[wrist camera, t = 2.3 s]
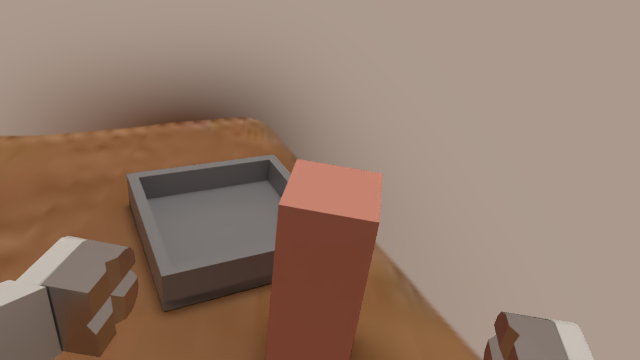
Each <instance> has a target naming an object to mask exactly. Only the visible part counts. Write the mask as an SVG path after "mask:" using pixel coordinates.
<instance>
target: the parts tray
mask: <svg viewBox="0 0 640 360" xmlns="http://www.w3.org/2000/svg"><path fill="white" fill-rule="evenodd" d="M290 176H291V174H290V173H289V171H288V170H287V169H286V168H285V167H284V166H283V165H282V163H281V162H280V161H279V160H278V159H277V158H276V156H275V155H267V156H259V157H252V158H244V159H237V160H229V161H221V162H214V163H206V164H199V165H191V166H184V167H176V168H169V169H161V170H154V171H146V172H138V173H131V174H127V183H128V193H129V203H130V207H131V211H132V214H133V217H134V220H135V223H136V226H137V229H138V232H139V236H140V239H141V242H142V245H143V248H144V251H145V254H146V257H147V261H148V264H149V267H150V270H151V273H152V276H153V279H154V282H155V286H156V289H157V292H158V295H159V298H160V301H161V304H162V307H163V311H168V310H172V309H176V308H180V307H183V306H187V305H191V304H195V303H199V302H202V301H206V300H210V299H214V298H218V297H221V296H225V295H229V294H233V293H237V292H240V291H244V290H248V289H252V288H256V287H259V286H263V285H267V284H271V283H272V275H273V263H274V252H275V240H276V229H277V217H278V205H279V202H280V200H281V197H282V195H283V193H284V190H285V188H286V185H287V183H288V180H289V178H290Z"/></svg>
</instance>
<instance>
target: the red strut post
mask: <svg viewBox="0 0 640 360" xmlns="http://www.w3.org/2000/svg"><path fill="white" fill-rule="evenodd" d="M381 190H382V174H381V173H375V172H369V171H364V170H358V169H352V168H346V167H340V166H334V165H329V164H323V163H317V162H311V161H305V160H299V159H297V161H296V163H295V166H294V168H293V171H292V173H291V176H290V178H289V180H288V183H287V185H286V188H285V190H284V193H283V195H282V197H281V200H280V202H279V205H278V217H277V229H276V240H275V252H274V263H273V275H272V287H271V298H270V310H269V321H268V333H267V345H266V356H265V360H350V355H351V351H352V346H353V342H354V337H355V332H356V328H357V323H358V319H359V314H360V309H361V305H362V300H363V296H364V291H365V286H366V282H367V277H368V273H369V268H370V263H371V259H372V254H373V250H374V245H375V240H376V236H377V231H378V226H379V219H380V205H381Z"/></svg>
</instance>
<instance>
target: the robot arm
mask: <svg viewBox="0 0 640 360" xmlns="http://www.w3.org/2000/svg"><path fill="white" fill-rule="evenodd" d="M135 262H136V261H135V255H134V250H132V249H131V248H129V247H125V246H119V245H114V244H109V243H104V242H99V241H94V240H86V239H82V238H77V237H72V236H66V237H63V238H61V239H59V240H58V241H57V242H56V243H55V244H54V245H53V246H52V247H51V248H50V249H49V250H48V251H47V252H46V253H45V254H44V255H43V256H41V257H40V258H39V259H38V260H37V261H36V262H35V263H34V264H33V265H32V266H31V267H30V268H29V269H28V270H27V271H26V272H25V273H23V274H22V275H21V276H20V277H19V278H18V279H17V280H16V281H11V280H8V281H5V282H2V283H0V360H52V359H54V358H55V357H57V356H58V355H60V354H61V353H62V352H61V351H65V352H71V353H77V354H83V355H89V356H96V357H101V355H102V354H103V352H104V351H105V349H106V348H107V346H108V345H109V343H110V342H111V340H112V339H113V338H114V336H115V335H116V329H115V324H117V323H119V322H121V321H122V320H124V319H126V318H127V317H128V315H129V314H130V312H131V311H132V309H133V307H134V304H135V301H136V298H137V294H138V278H137V276H136V275H135V274H134V273H133V272H132V270H131V268H132V266H133V265H134V264H135ZM494 326H495V331H496V335H495V336H494V337H492V338H491V339H489V340H488V343H487V345H486V348H485V352H484V360H594V358H593V356H592V354H591V352H590V349H589V347H588V345H587V343H586V340H585V338H584V336H583V334H582V332H581V330H580V327H579V326H578V325H577V324H576V323H572V322H565V321H559V320H552V319H550V320H548V319H543V318H537V317H531V316H525V315H519V314H513V313H507V312H501V313H500V314H499V315H498V316H497V319H496V322H495V324H494Z"/></svg>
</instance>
